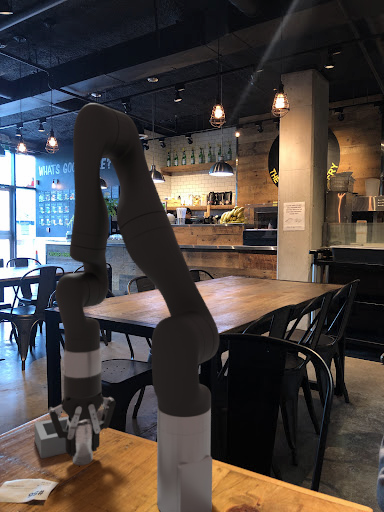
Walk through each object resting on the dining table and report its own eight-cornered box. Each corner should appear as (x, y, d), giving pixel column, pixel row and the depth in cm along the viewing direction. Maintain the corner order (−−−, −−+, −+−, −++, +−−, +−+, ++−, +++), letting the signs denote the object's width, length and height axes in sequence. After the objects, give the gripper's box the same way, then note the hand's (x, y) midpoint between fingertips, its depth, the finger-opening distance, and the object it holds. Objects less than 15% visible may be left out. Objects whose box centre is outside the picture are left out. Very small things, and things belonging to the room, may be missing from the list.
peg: (94, 462, 87) (94, 423, 86) (75, 467, 85) (75, 428, 84) (89, 453, 90) (89, 416, 90) (70, 457, 88) (70, 420, 88)
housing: (84, 448, 92) (84, 430, 92) (41, 458, 88) (41, 439, 88) (74, 431, 100) (74, 415, 100) (34, 440, 96) (34, 422, 95)
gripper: (49, 381, 80) (50, 469, 81) (121, 370, 87) (121, 452, 87) (43, 369, 86) (43, 452, 87) (110, 360, 93) (110, 436, 94)
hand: (82, 451), depth 87 cm, fingers closed on peg, 4 cm apart
